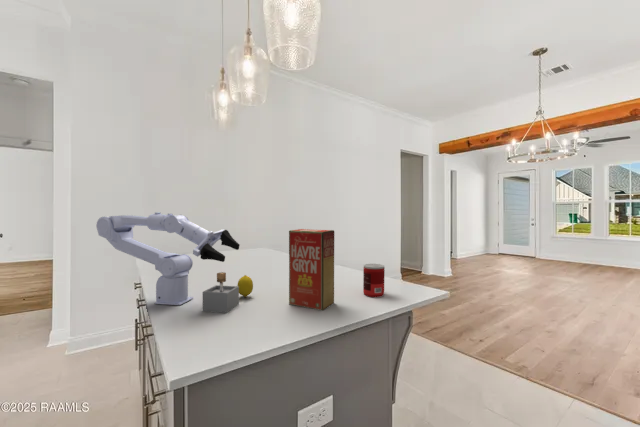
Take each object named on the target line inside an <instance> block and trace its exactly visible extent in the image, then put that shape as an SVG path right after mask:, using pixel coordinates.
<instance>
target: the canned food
mask: <svg viewBox="0 0 640 427" xmlns="http://www.w3.org/2000/svg"><path fill="white" fill-rule="evenodd" d="M362 273H363V281H362V282H363V285H362V286H363V295H364V296H366V297H369V298H381V297H383V296H384V295H385V265H383V264H380V263H366V264H363V272H362Z"/></svg>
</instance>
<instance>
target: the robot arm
mask: <svg viewBox="0 0 640 427" xmlns="http://www.w3.org/2000/svg"><path fill="white" fill-rule="evenodd" d="M95 224H96V230H97V231H96V232H97V234H98V236H99V237H102V238H104V239H105V240H107V242H108V243H109V244H111V246H112V247H113V248H114V249H116V250H117V251H120V252H122V253H123V254H127V255H129V256H132V257H134V258H137V259H139V260H142V261H145V262H146V263H149V264H151V265H154V269H155V271H158V272H159V273H160V274H161V275H160V277H159V276H158V278H157V280H156V284H155V302H153V304H155V305H169V306H181V305H183V304H185V303H187V302H189V301H191V300H193V299H194V296H189V274H190V270H191V269H192V268H193V264H194V263H193V259H192V257H191V256H190V255H189V254H185V253H182V254H180V253H177V252H176V253H175V252H167V251H165V250H162V249H159V248H156V247H154V246H151V245H150V244H147V243H144V242H142V241H138V240H136V239H134V228H135V226H140V227H141V226H144V227H147V229H149V230H151V231H159V232H167V233H169V234H173V233H175V234H177V235H179V236H180V237H182V238H184V239H186V240H188V241H189V242H191V243H193V244H195V245H196V247H194V248H193V250H192V255H194V256H195V257H197V258H198V257H200V259H201V260H202V261H203V260H211V261H218V262H222V263H224V262H225V260H226V256H225V255H224V254H223V253H222V252H220V251H218V250H216V249H215V248H214V245H215V244H216V243H217V242H218V241H219V240H220V241H221V243H220V244H221V245H220V246H225V247H229V248H232V249H233V250H236V251H238V250H239V249H240V245H241V244H239V243H238V241H237V240H235V238H234V237H233V236H232V235H231V234H230V232H229V230H228V229H225V228H222V229H220V230H216V231H213V230H210V231H209V230H207V229H206V228H204V227H202V226H200V225H198V224H196V223H194V222H193V221H190V220H189V218H188V217H187V216H186V215H183V214H179V215H178V214H173V213H167V214H163V213H161V212H158V211H155V212H154V213H151V214H149V215H148V216H143V215H142V216H141V215H133V214H127V215H125V214H122V215H110V216H101V217H99V218H98V219H97V221H96V223H95Z"/></svg>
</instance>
